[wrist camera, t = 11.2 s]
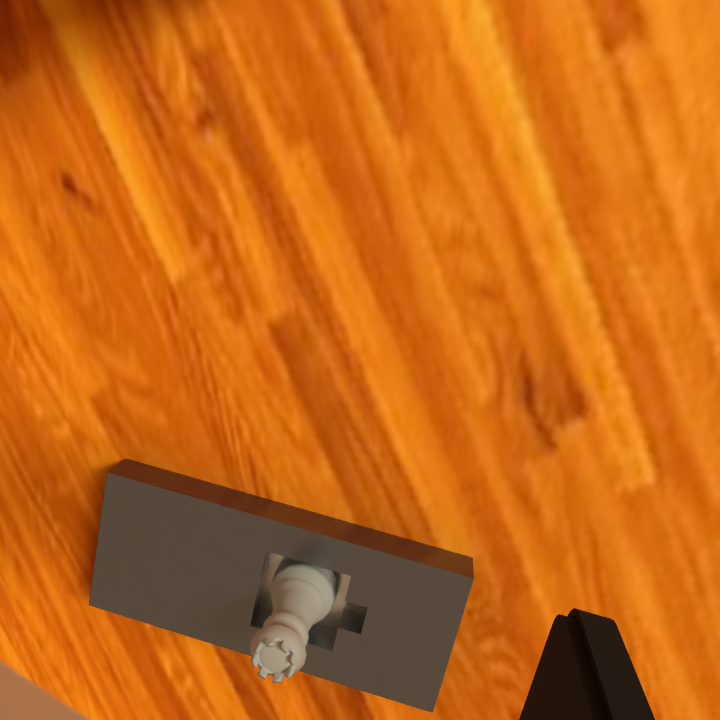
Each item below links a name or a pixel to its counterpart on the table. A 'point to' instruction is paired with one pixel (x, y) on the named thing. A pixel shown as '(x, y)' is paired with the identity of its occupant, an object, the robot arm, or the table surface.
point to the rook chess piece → (292, 617)
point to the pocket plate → (257, 568)
